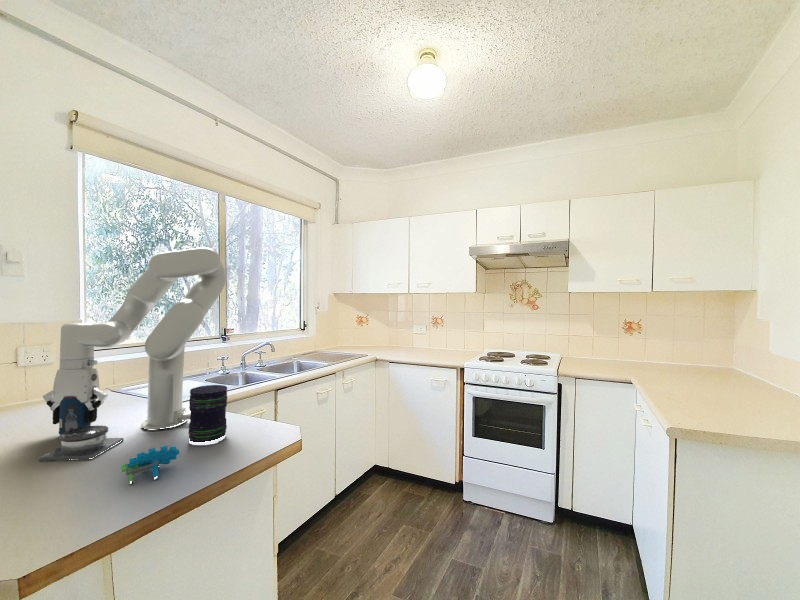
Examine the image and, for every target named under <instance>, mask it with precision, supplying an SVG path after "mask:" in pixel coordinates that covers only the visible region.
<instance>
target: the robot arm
mask: <svg viewBox="0 0 800 600" xmlns="http://www.w3.org/2000/svg"><path fill="white" fill-rule="evenodd" d="M226 274H227V273H226V270H225V267H224V264H223V263H222V261H221V257H220V255H219V254H218V252H217V251H215V249H212V248H211V247H210V248H209V247H194V248H188V249H181V250H172V251H164V252H159V253H156V254H154V255H153V256H151V258H150V259H149V261H148V267H147V268H146V270H145V271H144V272H143V273H142V274H141V276H139V277H138V278H137V280H136V281H135V282H134V283H133V284H132V285H131V286H130V287H129V288H128V290H127V292H126V294H125V298H124V302H123V304H122V305H120V307H119V309H118V310H117V311H116V313H115V314H114V315H112V317H111V318H109V320H108V321H107V322H102V323H90V322H69V323H68V322H67V323H64V324H63V325H62V326H61V327H60V340H59V341H60V342H59V343H60V344H59V346H60V347H59V349H60V350H59V366H58V367H59V369H57V371H56V373H55V376H54V380H53V388H52V390H50V391H49V392H47V393H45V394H44V395H43V396H42V398H43V399H44V401H45V402H46V405H47V406H48V407H49V410H50V411H51V412H52V425H57V424H59V418H60V402H61V400H62V399H63V397H77V399H78V400H79V401H80V402H81V403H85V405H86V406H87V408H88V409H89V410H87V411H86V424H90V423H91V424H92V423H94V422H96V421H97V419H98V409H99V408H100V406H101V405H103V404H104V401H105V400H106V399H107V398H108V393H106V392H104V391H102V390H101V389H100V386H101V385H100V377H99V371H98V369H97V367H94V366H96V365H97V364H98V360H95V353H94V352H95V348H103V349H104V348H106V349H107V348H112V347H115V346H118V345H119V344H121V343H124V342H125V341H127V340H128V339H129V337H130V336H131V335H132V334H134V332H135V330H136V329H137V328H138V327H139V326H140V324H141V323H142V322H143V321H144V320H145V318H146V317H147V316H148V315H149V313H150V312H151V311H152V310H153V309H154V307H156V305H157V304H158V303H159V301H160V300H161V299H162V298H163V297H164V295H166V293H167V292H168V291H169V290H170V288H171V287H172V286H173V285H174V284H175V282H177V281H178V279H180V278H187V277H193V276H198V277H197V280H196V281H195V282H194V284H193V285H192V286H191V288H190V289H189V291H188V292H187V293H186V294H185V296H184V297H182V299H181V300H180V301H178V302H176V303H175V304H174V305H172V306H171V307H170V308H169V310H168V311H167V312H166V313H165V314H164V316H163V317H162V319H161V320H160V321H159V322H158V323H157V325H155V327H154V328H153V330H152V331H151V333H150V334H149V335H148V336H147V338H146V340H145V342H144V350H145V353H146V355H147V356H148V357H149V360H148V361H149V363H148V381H147V384H148V386H147V414H146V415H147V416H146V419H145V420H143V421H142V422H141V424H140V428H141V427H142V428H145V429H160V428H166V427H170V426H174V425H177V424H179V423H182V422H184V421H185V420H187V421H188V420H190V411H187V410H186V407H185V406H184V407H183V398H184V397H183V393H184V392H183V391H184V390H183V388H184V387H183V386H184V362H185V361H184V360H185V348H186V347H185V345H186V344H187V342H188V341H189V340H190V339H191V337H192V336H193V335H194V334H195V332H196V331H197V329H198V328H199V327H200V325H201V324H202V323H203V321H204V319H205V317H206V315H207V313H208V312H209V311H210V309H211V308H212V307H213V305H214V303H215V302H216V300H217V299H218V298H219V296H220V295H221V294H222V292H223V289H224V288H225V285H226V281H227V278H226V277H227V276H226ZM182 420H184V421H182ZM142 428H141V429H142Z"/></svg>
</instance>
